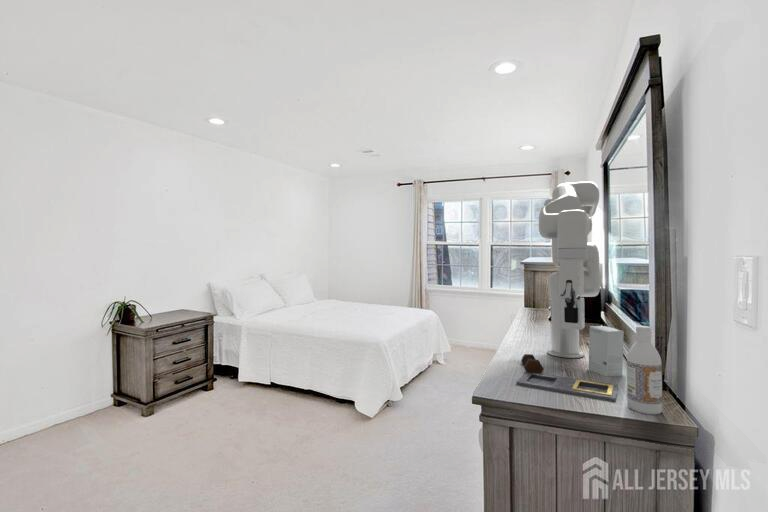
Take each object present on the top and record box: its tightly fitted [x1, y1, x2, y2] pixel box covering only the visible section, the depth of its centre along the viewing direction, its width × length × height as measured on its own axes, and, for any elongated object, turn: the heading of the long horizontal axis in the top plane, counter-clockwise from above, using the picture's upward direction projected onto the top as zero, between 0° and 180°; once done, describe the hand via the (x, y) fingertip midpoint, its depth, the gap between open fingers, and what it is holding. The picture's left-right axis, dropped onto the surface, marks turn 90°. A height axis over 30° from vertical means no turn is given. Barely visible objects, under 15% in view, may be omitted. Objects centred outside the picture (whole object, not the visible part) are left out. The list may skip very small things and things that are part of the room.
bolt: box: [520, 353, 544, 374], centre depth 127 cm, size 6×5×15 cm
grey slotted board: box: [515, 371, 619, 403], centre depth 107 cm, size 12×24×2 cm, turn 56°
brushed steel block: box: [561, 297, 586, 331], centre depth 106 cm, size 5×5×8 cm
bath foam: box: [626, 325, 663, 416], centre depth 93 cm, size 7×7×20 cm
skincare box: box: [587, 325, 625, 377], centre depth 120 cm, size 8×6×15 cm
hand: (573, 320), depth 106 cm, fingers closed on brushed steel block, 5 cm apart
